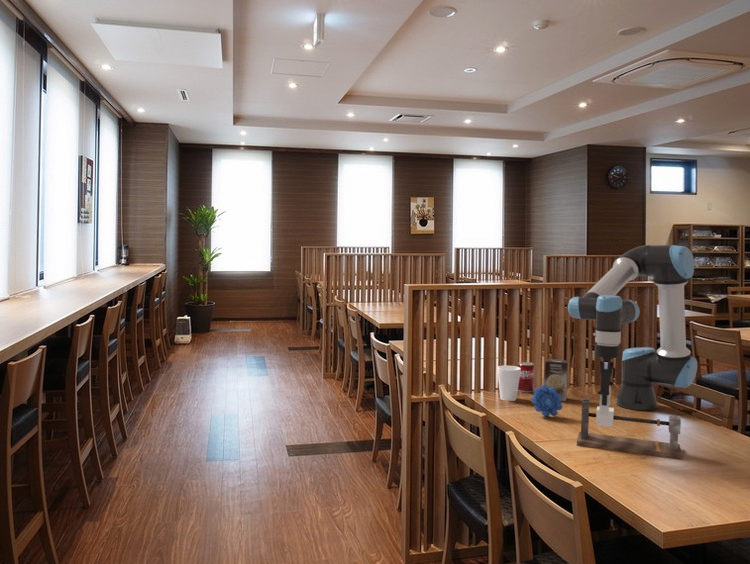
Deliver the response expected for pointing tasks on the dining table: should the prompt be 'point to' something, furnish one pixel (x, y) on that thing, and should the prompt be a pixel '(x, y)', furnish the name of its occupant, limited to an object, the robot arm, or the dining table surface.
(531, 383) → the soda can
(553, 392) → the blue knobbed wheel
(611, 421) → the sleeve
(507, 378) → the foam cup
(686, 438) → the dining table surface
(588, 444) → the sliding block rail
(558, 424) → the dining table surface
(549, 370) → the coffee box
